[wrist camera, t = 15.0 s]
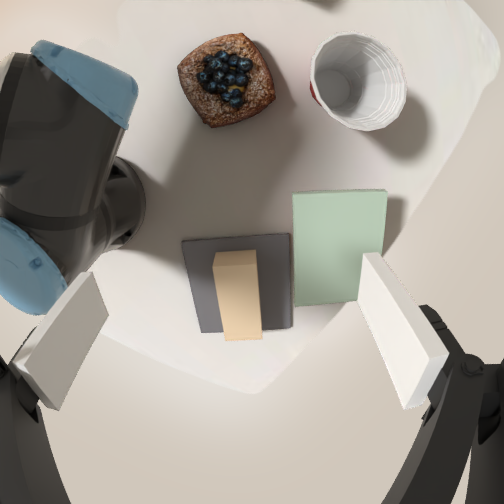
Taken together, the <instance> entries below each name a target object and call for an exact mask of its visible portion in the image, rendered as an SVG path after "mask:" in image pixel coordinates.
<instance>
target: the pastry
mask: <svg viewBox="0 0 504 504" xmlns="http://www.w3.org/2000/svg"><path fill="white" fill-rule="evenodd" d="M177 69H178V74H179V80H180V84H181V86H182V89H183V91H184V93H185V95H186V97H187V99H188V100H189V102H190V103H191V105H192V106H193V108H194V109H195V111H196V112H197V113H198V115H199V116H200V117H201V118H202V119H203V123H204V124H206V123H207V124H208V125H209V126H210V127H211V128H216V127H221V126H227V125H231V124H234V123H237V122H240V121H243V120H245V119H247V118H249V117H252V116H254V115H256V114H258V113H260V112H261V111H262V110H264V109H265V108H266V107H267V106H268V105H269V104H270V103H272V101H274V100H275V98H276V96H275V90H274V84H273V79H272V76H271V73H270V71H269V69H268V67H267V65H266V63H265V61H264V59H263V57H262V55H261V53H260V52H259V50H258V49H257V47H256V46H255V45H254V44H253V42H252V41H251V40H250V39H249V38H247V37H246V36H245V35H244V34H243V33H239V34H229V35H224V36H221V37H217V38H214V39H212V40H209V41H207V42H205V43H204V44H202V45H201V46H199V47H198V48H196V49H195V50H193V51H192V52H191V53H190V54H188V55H187V56H186V57H185V58H184V59H183V60H182V61H181V63H180V64H179V65H178V66H177Z"/></svg>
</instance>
